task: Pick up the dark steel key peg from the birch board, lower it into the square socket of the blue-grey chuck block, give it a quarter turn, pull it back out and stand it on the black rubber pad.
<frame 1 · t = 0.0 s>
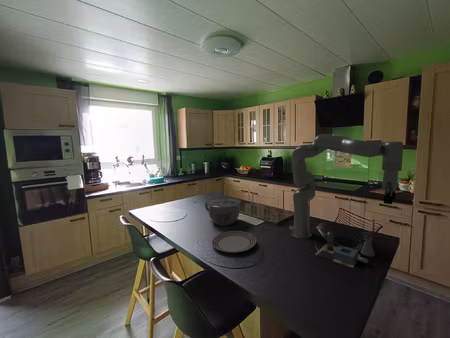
hand: (389, 201, 103), 31 cm above the kitchen island, fingers open, 9 cm apart
key peg: (330, 249, 118), point 1 cm above the kitchen island, touching bench board
bench board: (337, 256, 112), on the kitchen island
dinner plate: (234, 245, 130), on the kitchen island
flask: (367, 255, 113), on the kitchen island
chuck block: (345, 258, 109), resting on bench board
rubber pad: (326, 255, 112), resting on bench board
chamber pot: (224, 222, 167), on the kitchen island
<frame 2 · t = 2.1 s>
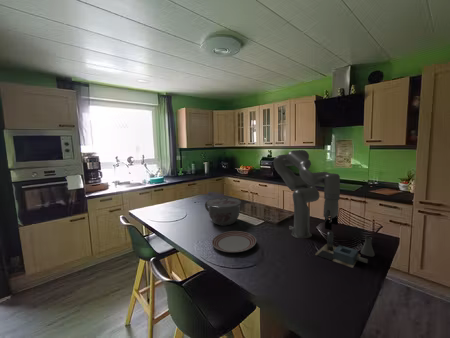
hand: (331, 226, 116), 15 cm above the kitchen island, fingers open, 9 cm apart
nothing on the kitchen island moved.
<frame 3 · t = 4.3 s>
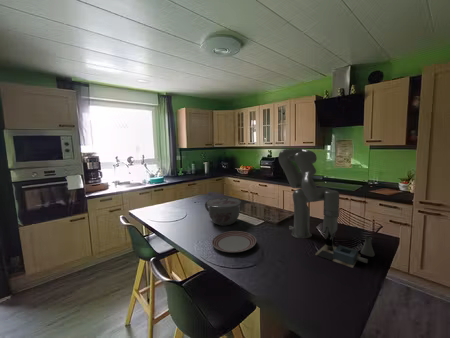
hand: (330, 243, 118), 4 cm above the kitchen island, fingers closed on key peg, 3 cm apart
key peg: (330, 249, 118), point 1 cm above the kitchen island, touching gripper
everything else where it was.
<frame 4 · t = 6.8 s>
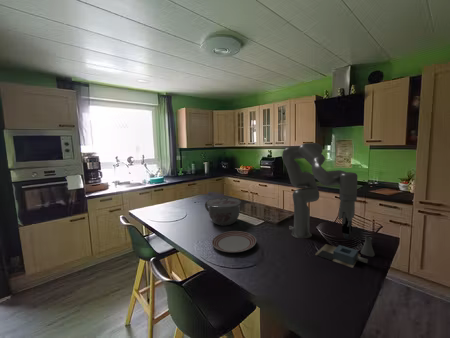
hand: (346, 231, 107), 16 cm above the kitchen island, fingers closed on key peg, 3 cm apart
key peg: (346, 237, 107), point 12 cm above the kitchen island, touching gripper
everything else where it was.
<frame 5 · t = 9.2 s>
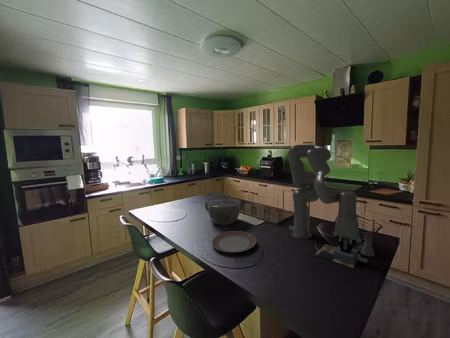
hand: (345, 249, 108), 6 cm above the kitchen island, fingers closed on key peg, 3 cm apart
key peg: (345, 255, 109), point 3 cm above the kitchen island, touching gripper
everything else where it was.
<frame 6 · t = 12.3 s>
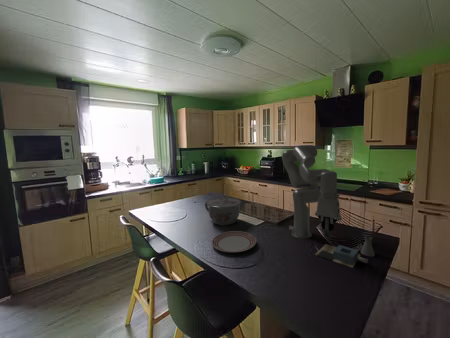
hand: (327, 229, 110), 16 cm above the kitchen island, fingers closed on key peg, 3 cm apart
key peg: (327, 235, 110), point 13 cm above the kitchen island, touching gripper
everything else where it was.
when the fingers open (6 cm above the kitchen island, at t = 14.6 s): key peg stays where it is, resting on rubber pad.
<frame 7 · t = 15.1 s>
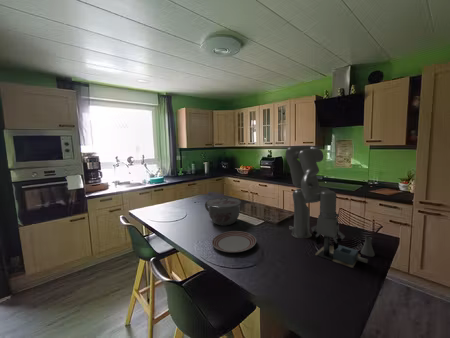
hand: (326, 246, 111), 7 cm above the kitchen island, fingers open, 8 cm apart
key peg: (326, 254, 112), point 2 cm above the kitchen island, touching rubber pad
everything else where it was.
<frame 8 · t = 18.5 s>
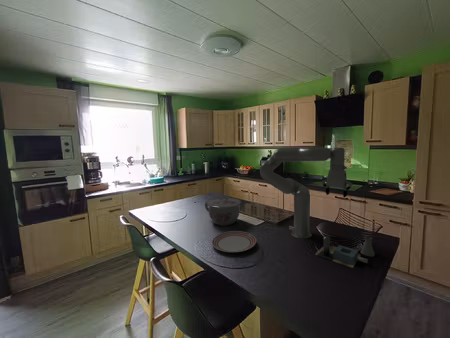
hand: (336, 195, 129), 28 cm above the kitchen island, fingers open, 9 cm apart
nothing on the kitchen island moved.
at the end: key peg inside the target area on the rubber pad (0.1 cm from its centre), point 0.4 cm above the rubber pad's base; key peg tilted 0°; the gripper is holding nothing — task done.
